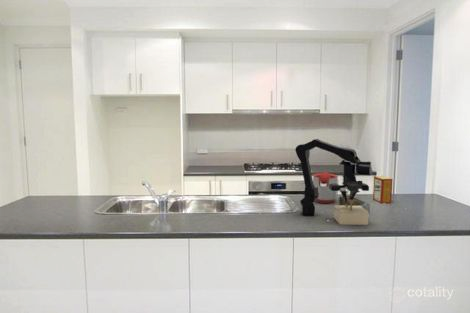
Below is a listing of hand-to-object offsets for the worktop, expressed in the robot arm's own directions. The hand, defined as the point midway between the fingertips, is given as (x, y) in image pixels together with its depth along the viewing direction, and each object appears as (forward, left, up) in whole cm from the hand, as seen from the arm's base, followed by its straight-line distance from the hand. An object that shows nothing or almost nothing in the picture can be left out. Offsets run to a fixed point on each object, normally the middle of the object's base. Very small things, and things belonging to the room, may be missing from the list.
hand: (348, 203), depth 158 cm
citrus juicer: (-3, +38, -10) cm, 39 cm away
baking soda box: (+34, +39, -10) cm, 53 cm away
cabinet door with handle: (-2, 0, -3) cm, 4 cm away
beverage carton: (+10, +20, -10) cm, 25 cm away
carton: (+1, 0, -10) cm, 10 cm away
